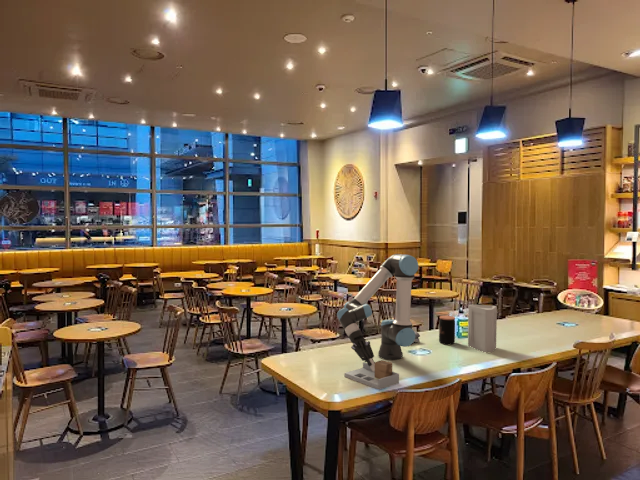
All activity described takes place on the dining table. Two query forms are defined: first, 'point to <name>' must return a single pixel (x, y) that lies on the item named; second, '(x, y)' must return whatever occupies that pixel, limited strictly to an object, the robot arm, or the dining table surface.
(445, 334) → the coffee jar
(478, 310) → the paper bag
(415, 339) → the towel
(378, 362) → the block
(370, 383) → the deck
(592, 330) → the dining table surface
